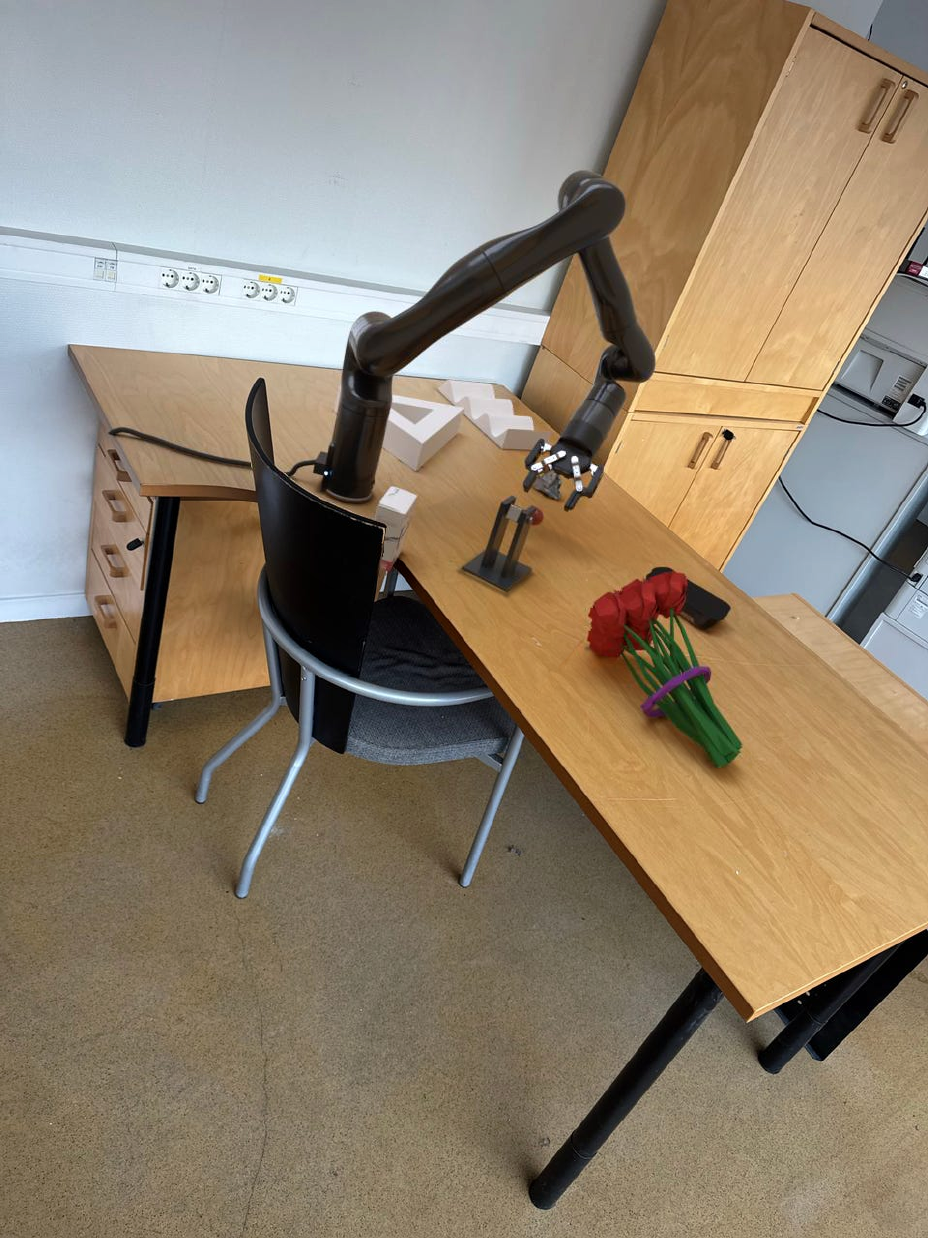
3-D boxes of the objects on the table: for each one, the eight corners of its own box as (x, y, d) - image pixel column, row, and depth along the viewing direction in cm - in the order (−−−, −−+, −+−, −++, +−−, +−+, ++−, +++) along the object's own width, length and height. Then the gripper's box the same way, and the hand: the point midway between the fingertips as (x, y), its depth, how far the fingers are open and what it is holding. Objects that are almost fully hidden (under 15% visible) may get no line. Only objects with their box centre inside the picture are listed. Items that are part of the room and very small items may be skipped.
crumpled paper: (541, 483, 190) (550, 455, 186) (561, 500, 185) (571, 472, 181) (526, 483, 188) (535, 454, 184) (546, 501, 183) (556, 472, 179)
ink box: (389, 576, 139) (405, 513, 133) (360, 566, 139) (375, 502, 133) (402, 554, 146) (418, 493, 140) (375, 544, 147) (390, 483, 140)
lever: (525, 521, 157) (532, 504, 156) (540, 529, 156) (548, 512, 156) (500, 518, 143) (509, 500, 142) (518, 527, 142) (526, 508, 141)
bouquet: (667, 810, 119) (551, 650, 133) (736, 780, 129) (622, 634, 143) (750, 729, 106) (613, 562, 120) (819, 702, 116) (685, 551, 130)
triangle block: (333, 411, 193) (338, 384, 189) (418, 406, 210) (424, 382, 207) (415, 471, 177) (422, 443, 174) (500, 461, 194) (508, 435, 191)
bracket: (487, 552, 156) (509, 485, 148) (530, 573, 153) (554, 506, 146) (460, 572, 147) (482, 502, 139) (505, 595, 144) (529, 525, 137)
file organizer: (478, 393, 232) (483, 375, 229) (545, 450, 208) (552, 431, 206) (437, 389, 225) (442, 370, 222) (501, 448, 202) (508, 428, 199)
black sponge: (727, 623, 157) (735, 607, 156) (706, 635, 152) (714, 618, 150) (656, 579, 165) (663, 563, 163) (634, 588, 159) (641, 572, 157)
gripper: (553, 405, 158) (510, 475, 155) (621, 435, 154) (579, 507, 151) (554, 426, 165) (513, 493, 162) (620, 455, 161) (579, 524, 158)
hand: (545, 500), depth 156 cm, fingers open, 8 cm apart
